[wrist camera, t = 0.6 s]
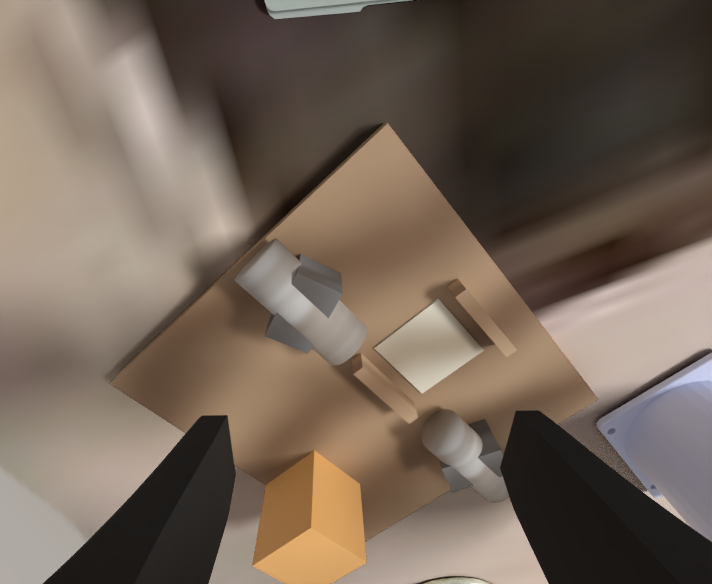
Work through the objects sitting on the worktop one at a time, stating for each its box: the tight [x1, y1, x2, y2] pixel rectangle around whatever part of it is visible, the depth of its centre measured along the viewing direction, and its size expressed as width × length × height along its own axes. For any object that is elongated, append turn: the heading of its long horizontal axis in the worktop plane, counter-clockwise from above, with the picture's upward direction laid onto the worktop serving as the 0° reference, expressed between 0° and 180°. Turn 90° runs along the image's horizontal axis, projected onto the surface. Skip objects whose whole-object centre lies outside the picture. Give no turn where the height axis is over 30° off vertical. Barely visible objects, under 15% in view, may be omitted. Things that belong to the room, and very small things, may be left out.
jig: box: [110, 123, 598, 541], centre depth 20 cm, size 19×18×3 cm
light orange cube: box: [252, 450, 367, 584], centre depth 21 cm, size 4×4×4 cm
